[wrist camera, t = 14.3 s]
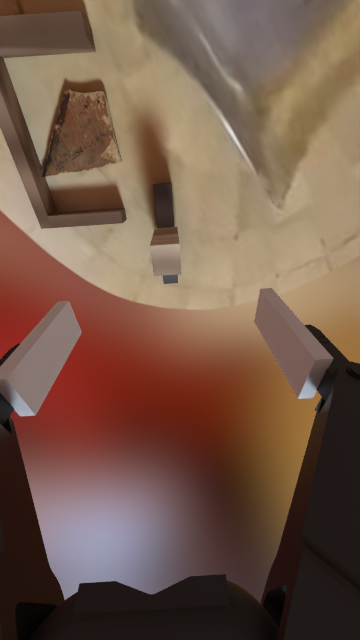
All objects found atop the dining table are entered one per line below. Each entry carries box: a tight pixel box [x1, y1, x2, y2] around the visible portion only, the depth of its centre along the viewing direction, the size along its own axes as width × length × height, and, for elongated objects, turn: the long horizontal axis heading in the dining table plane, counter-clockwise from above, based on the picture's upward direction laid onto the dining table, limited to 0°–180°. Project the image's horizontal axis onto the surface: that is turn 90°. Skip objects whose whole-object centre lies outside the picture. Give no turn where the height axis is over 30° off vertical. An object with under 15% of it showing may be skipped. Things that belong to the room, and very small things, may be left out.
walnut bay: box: [0, 10, 126, 229], centre depth 26 cm, size 18×12×3 cm, turn 3°
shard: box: [42, 87, 122, 177], centre depth 26 cm, size 11×8×2 cm
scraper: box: [150, 183, 181, 284], centre depth 29 cm, size 14×3×12 cm, turn 3°
